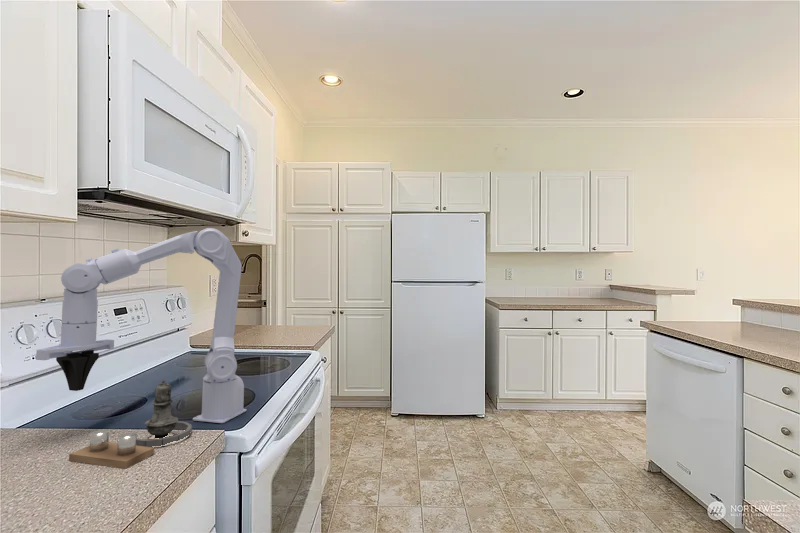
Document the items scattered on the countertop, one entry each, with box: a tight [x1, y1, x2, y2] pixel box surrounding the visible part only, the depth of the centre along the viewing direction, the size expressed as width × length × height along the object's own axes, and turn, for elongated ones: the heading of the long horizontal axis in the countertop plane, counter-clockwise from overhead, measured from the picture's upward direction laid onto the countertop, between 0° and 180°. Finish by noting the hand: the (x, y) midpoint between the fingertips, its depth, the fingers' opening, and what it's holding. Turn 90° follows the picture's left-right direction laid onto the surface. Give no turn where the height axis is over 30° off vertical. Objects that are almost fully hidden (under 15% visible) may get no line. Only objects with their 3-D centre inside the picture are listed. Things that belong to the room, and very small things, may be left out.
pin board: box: [68, 428, 155, 469], centre depth 73 cm, size 6×12×4 cm, turn 78°
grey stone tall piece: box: [144, 378, 179, 438], centre depth 83 cm, size 6×6×12 cm
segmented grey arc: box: [136, 420, 193, 447], centre depth 83 cm, size 11×7×2 cm, turn 168°
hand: (76, 389), depth 83 cm, fingers closed
